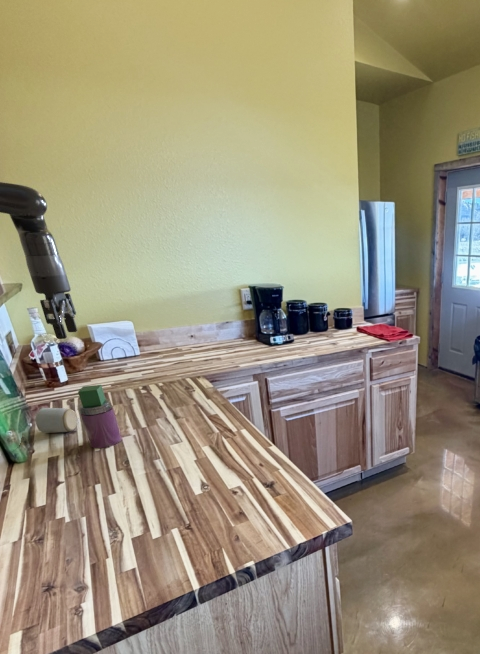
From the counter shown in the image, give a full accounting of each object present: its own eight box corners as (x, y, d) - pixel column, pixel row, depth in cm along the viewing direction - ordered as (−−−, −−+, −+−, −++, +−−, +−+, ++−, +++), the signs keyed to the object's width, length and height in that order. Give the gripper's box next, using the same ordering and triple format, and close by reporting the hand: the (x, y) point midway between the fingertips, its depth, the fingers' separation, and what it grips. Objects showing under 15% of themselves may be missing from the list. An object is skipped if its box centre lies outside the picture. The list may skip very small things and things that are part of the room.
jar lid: (76, 416, 113) (74, 409, 113) (85, 406, 120) (83, 400, 119) (108, 413, 116) (106, 406, 115) (114, 403, 122) (112, 397, 121)
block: (82, 407, 114) (77, 391, 112) (87, 401, 118) (82, 386, 116) (101, 405, 116) (96, 389, 114) (105, 399, 119) (101, 384, 118)
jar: (86, 450, 117) (73, 412, 112) (94, 437, 124) (83, 402, 119) (118, 445, 120) (107, 408, 115) (124, 434, 126) (114, 399, 122)
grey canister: (69, 435, 125) (61, 411, 122) (39, 437, 124) (31, 413, 121) (87, 421, 135) (80, 399, 132) (60, 423, 134) (52, 400, 131)
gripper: (42, 271, 114) (61, 330, 120) (18, 276, 101) (41, 342, 108) (74, 271, 116) (91, 329, 122) (54, 275, 103) (74, 340, 110)
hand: (67, 335), depth 115 cm, fingers open, 8 cm apart
